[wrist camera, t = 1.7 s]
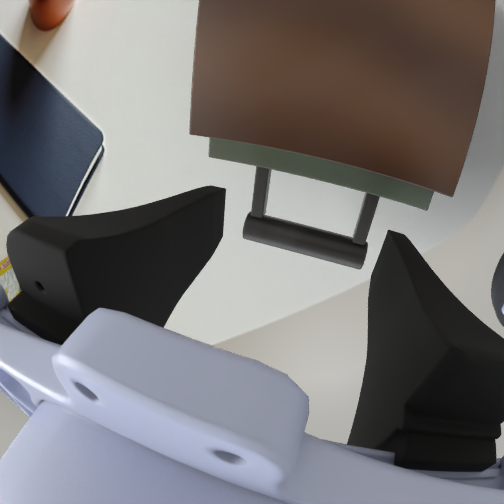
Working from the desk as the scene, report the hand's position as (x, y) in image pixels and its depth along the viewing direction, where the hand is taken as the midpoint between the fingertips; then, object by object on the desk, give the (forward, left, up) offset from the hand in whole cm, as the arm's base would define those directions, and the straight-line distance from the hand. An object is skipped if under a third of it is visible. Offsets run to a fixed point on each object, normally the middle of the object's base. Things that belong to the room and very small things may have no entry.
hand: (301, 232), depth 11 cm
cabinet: (0, -8, -9) cm, 12 cm away
